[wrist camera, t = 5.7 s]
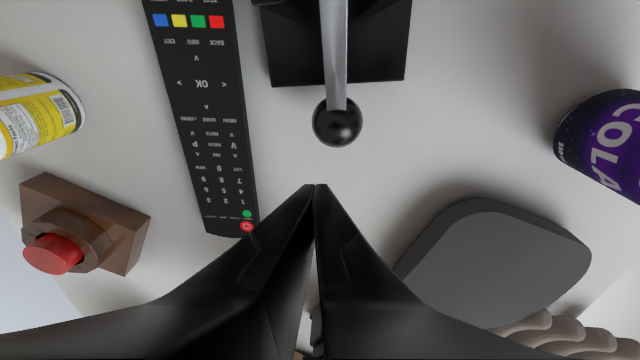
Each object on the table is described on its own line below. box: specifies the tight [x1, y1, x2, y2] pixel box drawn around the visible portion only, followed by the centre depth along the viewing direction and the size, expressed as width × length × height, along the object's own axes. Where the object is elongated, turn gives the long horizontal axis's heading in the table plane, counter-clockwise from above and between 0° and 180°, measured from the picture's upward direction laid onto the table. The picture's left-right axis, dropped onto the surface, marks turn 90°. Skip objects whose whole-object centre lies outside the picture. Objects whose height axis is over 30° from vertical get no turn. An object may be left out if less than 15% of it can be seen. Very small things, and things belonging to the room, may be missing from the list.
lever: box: [312, 0, 363, 148], centre depth 12 cm, size 12×3×3 cm, turn 4°
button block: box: [19, 172, 150, 277], centre depth 24 cm, size 10×8×4 cm
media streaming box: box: [393, 199, 592, 329], centre depth 24 cm, size 15×15×3 cm
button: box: [23, 233, 84, 275], centre depth 22 cm, size 4×4×2 cm
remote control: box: [142, 0, 260, 238], centre depth 19 cm, size 5×24×1 cm, turn 179°
